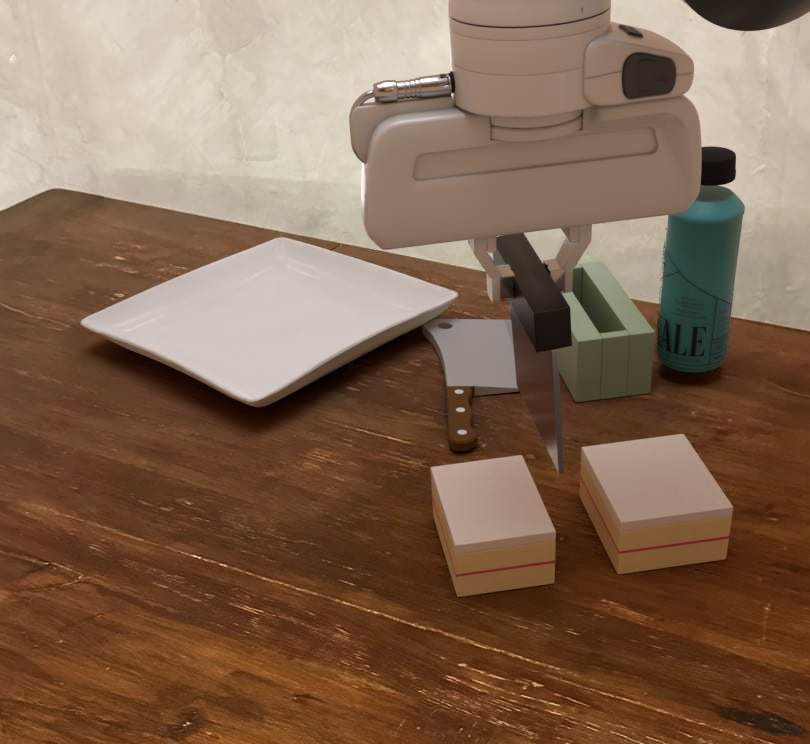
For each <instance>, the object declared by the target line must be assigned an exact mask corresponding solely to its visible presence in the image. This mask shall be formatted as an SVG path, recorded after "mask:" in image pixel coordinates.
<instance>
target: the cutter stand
mask: <svg viewBox="0 0 810 744" xmlns="http://www.w3.org/2000/svg"><path fill="white" fill-rule="evenodd" d="M562 295H563V296H564V298H565V300H566V301H567V303H568V304H569V306H570V312H571V333H572V346H569V347H564V348H559V349H558V365H559V376H561V378H562V380H563V382H564V384H565V385H566V387H567V389H568V391H569V393H570V394H571V396H572V398H573V400H574V402H575V403H582V402H592V401H597V400H598V401H600V400H608V399H614V398H615V399H616V398H623V397H631V396H638V395H646V394H651V387H652V377H653V364H654V363H653V361H654V350H655V340H656V331H655V330H654V328H653V327H652V326H651V324H650V323H649V321H648V320H647V319H646V318H645V316H644V315H643V313H642V312H641V311H640V309H639V308H638V307H637V305H636V304H635V303H634V301H633V300H632V299H631V298H630V296H629V295H628V293H627V292H626V291H625V290H624V288H623V287H622V285H621V284H620V282H619V281H618V280H617V279H616V278H615V276H614V275H613V273H612V272H611V270H610V269H609V267H607V266H606V264H605V263H604V261H603V260H598V261H589V262H580V263H577V265H576V266H575V267H574V268H573V280H572V292H568V293H562Z"/></svg>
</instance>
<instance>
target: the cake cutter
mask: <svg viewBox="0 0 810 744" xmlns="http://www.w3.org/2000/svg"><path fill="white" fill-rule="evenodd" d="M496 247H497V250H496V251H495V252H492V260H493V261H494V263H495V264H496V266H498V265H508V264H509V266H510V268H511V271H513V273H514V275H515V279H514V282H515V286H514V288H513V289H514V291H515V299H512V300H508V302H509V309H510V320H511V322H512V334H513V346H514V358H515V370H516V383H517V387H518V389H519V391H518V392H519V393H520V396H521V398H522V399H523V402H524V404H525V406H526V408H527V410H528V412H529V414H530V416H531V419H532V420H533V423H534V425H535V428H536V429H537V431H538V433H539V435H540V437H541V440H542V442H543V444H544V446H545V448H546V450H547V452H548V454H549V456H550V459H551V461H552V463H553V465H554V467H555V469H556V471H557V474H558V475H562V474H565V458H564V455H565V454H564V439H563V419H562V403H561V402H562V401H561V387H560V386H561V385H560V373H559V365H558V349H559V348H564V347H569V346H572V333H571V312H570V306H569V304H568V303H567V301H566V300H565V298H564V296H563V295H562V293H561V292H560V290H559V288H558V287H557V285H556V284H555V282H554V281H553V279H552V277H551V276H550V274H549V273H548V271H547V269H546V268H545V266H544V265H543V260H542V259H541V258H540V257H539V255H538V253H537V252H536V250H535V249H534V247H533V245H532V244H531V243H530V241H529V239H528V237H527V236H526V234H525V233H519V234H511V235H502V236H496Z"/></svg>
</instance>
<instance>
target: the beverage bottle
mask: <svg viewBox="0 0 810 744" xmlns="http://www.w3.org/2000/svg"><path fill="white" fill-rule="evenodd" d="M701 150H702V162H701V183H700V190H699V194H698V197H697V198H696V199H695V201H694V202H693V203H692V205H691V206H690V207H689V208H688V209H687V211H685V212H684V213H680V214H672V215H667V227H665V229H664V230H665V231H666V233H665V241H663V243H664V244H663V247H662V250H663V251H662V256H663V257H662V263H661V269H662V271H661V272H662V277H661V278H660V281H661V287H660V288H659V295H658V296H659V300H658V305H659V307H660V308H659V311H657V314H658V316H657V320H656V322H657V323H656V331H655V337H656V338H655V341H654V346H656V351H655V353H656V355H657V356H656V357H657V359H658V360H659V362H660V363H661V364H662V365H664V366H666V367H667V368H669V369H672V370H674V371H678V372H685V373H704V372H710V371H713V370H715V369H717V368H719V367H721V366H722V365H723V364H724V362H725V360H726V358H727V355H728V348H729V342H730V340H731V338H730V333H732V332H731V325H732V322H733V321H732V316H733V315H734V314H733V313H734V312H733V307H734V306H735V305H734V299H735V296H736V295H734V294H736V293H735V282H736V276H737V275H736V274H737V266H738V259H739V250H740V243H741V234H742V229H743V219H744V218H743V217H744V214H745V211H746V206H745V203H744V202H743V201H742V199H741V198H740V197H739V196H738V195H737V194H736V193H735V191H733V190H732V189H730V188H728V187H725V186H724V185H727V184H731V183H732V182H734V181H735V180H736V177H737V167H736V166H737V165H736V164H737V154H736V152H735V151H734V150H732V149H730V148H727V147H722V146H714V145H713V146H711V145H710V146H709V145H708V146H701Z"/></svg>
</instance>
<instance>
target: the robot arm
mask: <svg viewBox="0 0 810 744" xmlns="http://www.w3.org/2000/svg"><path fill="white" fill-rule="evenodd" d="M681 1H682V3H684V4H686V5H687V6H688V7H689V8H690V9H691V10H692V11H693V12H695V13H696V15H698V16H699V17H701V18H702V19H704V20H705V21H707V22H708V23H711V24H713V25H716V26H717V27H719V28H723V29H726V30H730V31H731V30H732V31H738V32H758V31H765V30H771V29H774V28H777V27H781V26H784V25H787V24H789V23H792V22H793V21H796V20H797V19H800V18H801V17H804V16H806V15H807V14H808V13H810V0H681ZM611 12H612V0H448V7H447V13H448V41H449V59H450V60H449V61H450V62H449V63H450V71H449V72H448V73H439V74H432V75H424V76H419V77H415V78H410V79H403V80H396V79H386V80H381V81H378V82H375V83H373V84H372V86H371V87H372V89H369V90H367V91H365V92H363V93H362V94H361V95H359V96H358V97H357V98H356V100H355V101H354V102H353V104H352V105H351V107H350V111H349V115H348V125H349V134H350V135H349V137H350V138H349V139H350V145H351V149H352V151H353V153H354V155H355V157H356V159H358V160H359V161H360V162H361V180H360V182H361V183H360V197H361V198H360V199H361V218H362V222H363V223H362V224H363V227H364V231H365V233H366V235H367V237H368V238H369V239H370V241H371V242H372V243H373V244H375V245H376V246H377V248H379V249H381V250H384V251H388V250H389V251H390V250H397V249H405V248H412V247H422V246H429V245H437V244H447V243H454V242H461V241H462V242H463V241H467V243H468V245H469V248H470V249H471V251H472V254H473V255H474V256H475V259H476V260H477V261H478V263H479V264H480V266H481V267H482V268H483V270H484V271H485V273H486V290H487V295H488V299H489V300H490V301H491V303H499V302H505V301H509V300H512V299H515V291H514V289H513V288H514V286H515V282H514V279H515V275H514V273H513V271H511V268H510V266H509V264H508V265H498V266H496V264H495V263H494V261H493V257H492V256H491V255H490V254H491V253H492V254H493V252H495V251H496V250H497V247H496V237H498V236H503V235H511V234H519V233H524V234H525V233H526V234H527V233H533V232H535V233H536V232H542V231H551V230H558V229H560V230H561V231H562V233H563V234H564V235H565V239H564V240H563V242H562V244H561V246H560V247H559V250H558V252H557V253H556V255H555V258H554V257H553V258H549V259H548V258H547V259H543V260H542V263H543V265H544V266H545V268H546V269H547V271H548V273H549V274H550V276H551V277H552V279H553V281H554V282H555V284H556V285H557V287H558V288H559V290H560V292H561V293H568V292H572V280H573V268H574V267H575V266H576V265H577V264H579V262H580V260H581V258H582V256H583V255H584V253H585V252H586V250H587V248H588V247H589V246H590V243H591V242H592V233H593V231H592V230H593V225H599V224H606V223H614V222H622V221H629V220H630V221H631V220H637V219H638V220H639V219H646V218H655V217H662V216H663V217H664V216H668V215H672V214H680V213H684V212H685V211H687V209H688V208H689V207H690V206H691V205H692V203H693V202H694V201H695V199H696V198H697V197H698V194H699V190H700V183H701V162H702V150H701V147H702V130H701V120H700V116H699V112H698V110H697V108H696V106H695V104H694V103H693V102H692V100H690V99H689V98H688V97H687V96H686V95H685V94H686V93H688V92H689V91H690V90H691V87H692V85H693V83H694V82H693V81H694V76H695V64H694V60H693V58H692V57H691V56H690V55H689V54H688V53H687V51H685V50H684V49H683V48H682V47H680V46H679V45H677V44H676V43H675V42H674V41H672V40H670V39H668V38H667V37H665V36H662V35H661V34H659V33H656V32H654V31H652V30H649V29H646V28H641V27H638V26H633V25H629V24H624V23H620V22H617V21H616V22H615V21H611V19H612V18H611V15H612V14H611ZM370 99H373V101H369V102H367V101H368V100H370Z"/></svg>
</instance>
